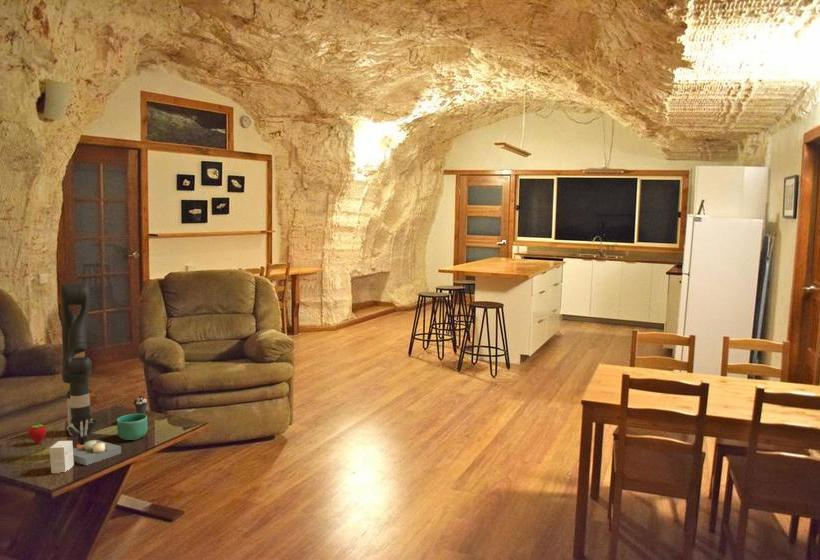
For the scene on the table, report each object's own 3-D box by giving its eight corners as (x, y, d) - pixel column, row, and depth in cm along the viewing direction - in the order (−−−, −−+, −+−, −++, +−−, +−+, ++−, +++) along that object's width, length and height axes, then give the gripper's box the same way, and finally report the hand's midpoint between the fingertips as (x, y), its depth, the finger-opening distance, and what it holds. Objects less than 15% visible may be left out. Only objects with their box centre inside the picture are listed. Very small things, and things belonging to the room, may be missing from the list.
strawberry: (32, 441, 293) (31, 419, 292) (50, 441, 293) (48, 419, 292) (25, 446, 287) (24, 424, 286) (43, 445, 287) (42, 423, 286)
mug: (141, 442, 290) (140, 422, 289) (113, 443, 290) (111, 422, 289) (155, 430, 306) (154, 410, 305) (128, 430, 306) (127, 411, 305)
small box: (59, 466, 263) (58, 440, 262) (74, 465, 264) (72, 440, 263) (50, 473, 256) (49, 447, 254) (65, 473, 256) (63, 447, 255)
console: (60, 458, 272) (60, 451, 272) (95, 446, 286) (95, 439, 286) (86, 465, 263) (85, 458, 263) (121, 453, 277) (121, 446, 277)
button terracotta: (74, 453, 277) (74, 445, 276) (84, 449, 281) (84, 441, 280) (81, 455, 274) (80, 447, 274) (91, 451, 278) (90, 443, 278)
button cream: (90, 453, 271) (90, 445, 270) (100, 449, 275) (100, 441, 274) (97, 455, 268) (97, 447, 268) (107, 451, 272) (107, 443, 272)
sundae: (152, 421, 320) (150, 391, 318) (141, 425, 314) (139, 394, 312) (142, 419, 323) (140, 389, 321) (131, 423, 317) (129, 393, 315)
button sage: (82, 451, 274) (81, 442, 273) (92, 447, 278) (92, 439, 277) (89, 453, 271) (88, 444, 271) (99, 449, 275) (98, 441, 275)
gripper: (89, 399, 283) (91, 438, 285) (59, 407, 272) (62, 447, 273) (100, 401, 279) (102, 441, 281) (70, 409, 268) (73, 450, 269)
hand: (82, 444), depth 277 cm, fingers closed
